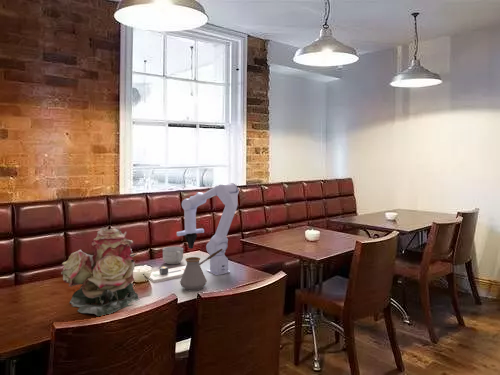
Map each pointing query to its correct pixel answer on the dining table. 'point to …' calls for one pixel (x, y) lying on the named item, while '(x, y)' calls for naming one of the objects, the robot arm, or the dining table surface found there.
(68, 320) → the dining table surface
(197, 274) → the coffee pot
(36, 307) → the dining table surface
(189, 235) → the robot arm
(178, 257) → the teacup
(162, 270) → the breaker handle
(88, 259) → the rose bouquet
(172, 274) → the plate
